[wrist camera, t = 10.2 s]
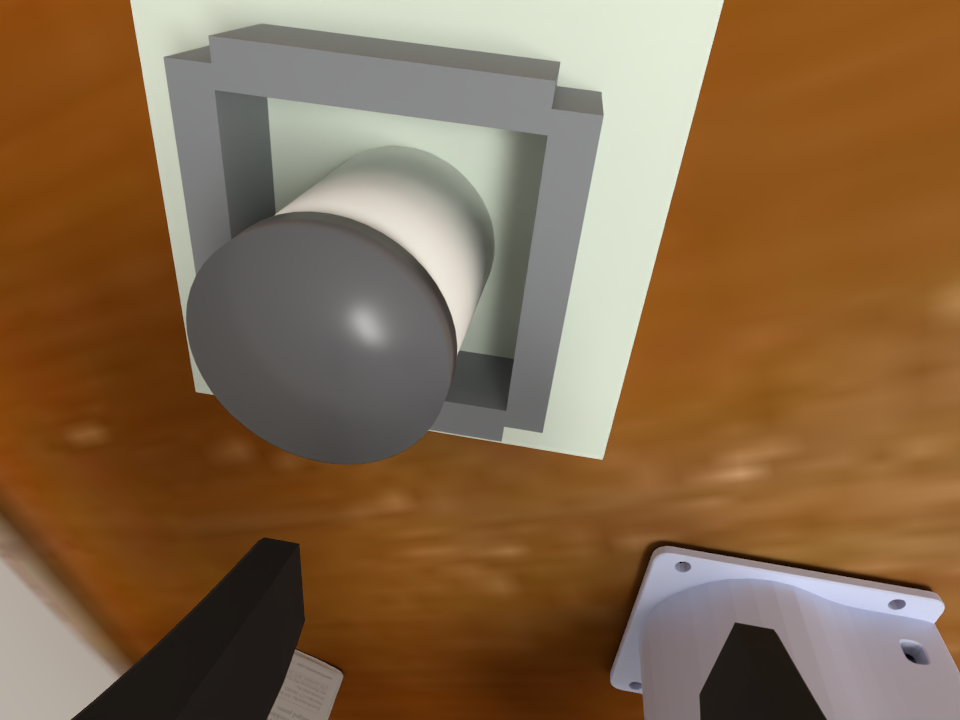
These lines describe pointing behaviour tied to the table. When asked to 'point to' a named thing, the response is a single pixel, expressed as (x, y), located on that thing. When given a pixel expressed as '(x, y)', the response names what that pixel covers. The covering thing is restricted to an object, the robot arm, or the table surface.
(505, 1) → the mount board
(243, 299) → the lens cylinder
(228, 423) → the table surface
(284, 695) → the skincare box
